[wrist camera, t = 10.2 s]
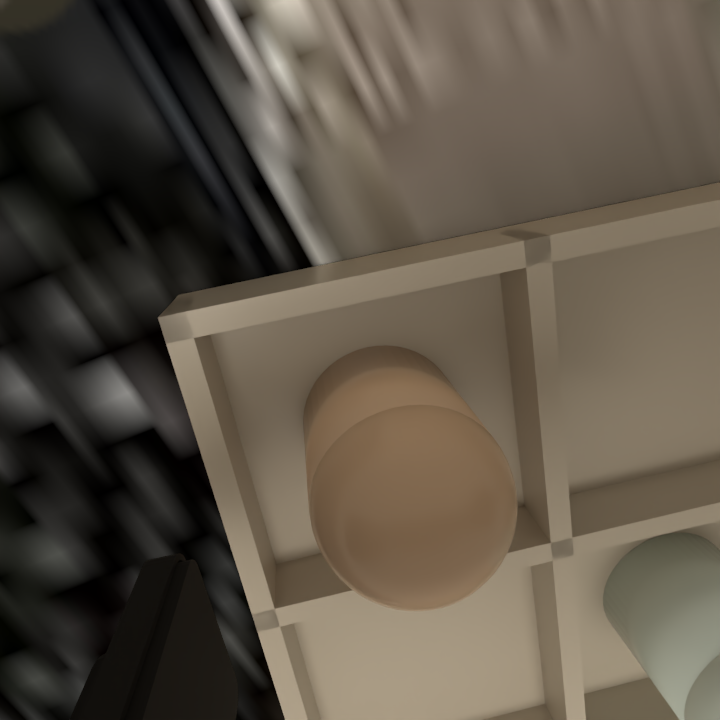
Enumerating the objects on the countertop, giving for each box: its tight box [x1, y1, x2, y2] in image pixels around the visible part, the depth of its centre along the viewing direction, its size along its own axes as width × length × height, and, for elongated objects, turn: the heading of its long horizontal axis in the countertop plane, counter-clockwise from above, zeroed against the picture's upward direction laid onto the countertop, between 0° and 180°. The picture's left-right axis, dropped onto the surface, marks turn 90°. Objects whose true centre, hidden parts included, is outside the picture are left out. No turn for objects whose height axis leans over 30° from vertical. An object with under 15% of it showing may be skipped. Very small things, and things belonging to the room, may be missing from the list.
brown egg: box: [303, 345, 518, 611], centre depth 12 cm, size 4×4×6 cm
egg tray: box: [158, 182, 720, 720], centre depth 16 cm, size 17×17×2 cm
